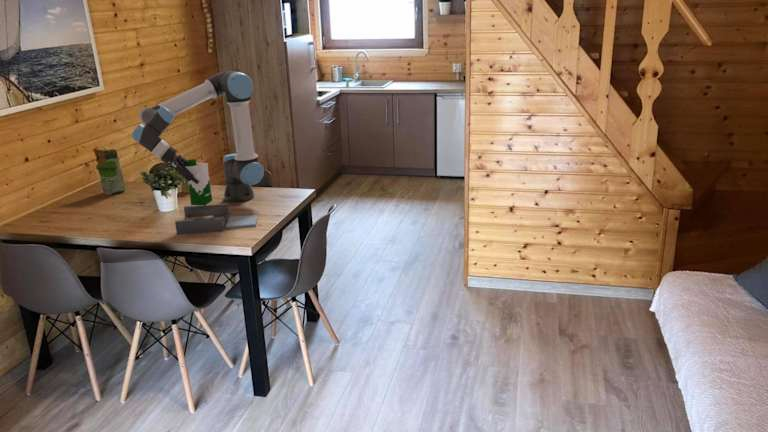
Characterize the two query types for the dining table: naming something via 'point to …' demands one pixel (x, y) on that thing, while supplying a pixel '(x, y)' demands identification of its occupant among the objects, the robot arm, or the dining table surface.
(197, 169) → the soya milk
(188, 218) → the offcut stack
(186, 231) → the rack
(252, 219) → the mat
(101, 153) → the pouch
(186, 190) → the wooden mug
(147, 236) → the dining table surface
